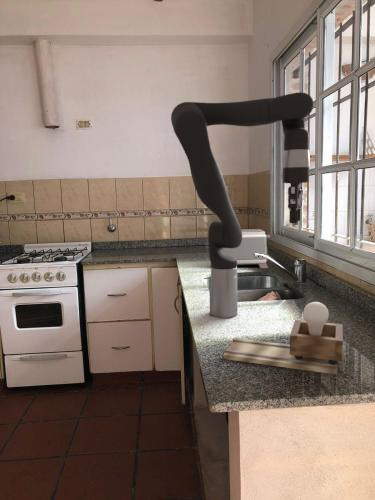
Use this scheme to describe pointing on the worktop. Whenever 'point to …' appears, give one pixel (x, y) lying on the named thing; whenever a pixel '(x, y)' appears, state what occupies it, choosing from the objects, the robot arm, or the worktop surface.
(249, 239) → the toaster
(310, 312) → the lightbulb
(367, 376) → the worktop surface
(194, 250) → the worktop surface
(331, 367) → the track
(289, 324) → the worktop surface
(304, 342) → the open wooden crate
